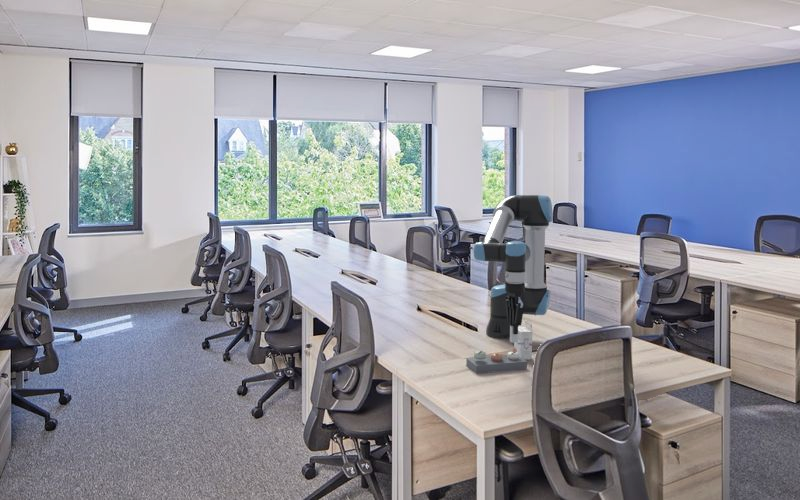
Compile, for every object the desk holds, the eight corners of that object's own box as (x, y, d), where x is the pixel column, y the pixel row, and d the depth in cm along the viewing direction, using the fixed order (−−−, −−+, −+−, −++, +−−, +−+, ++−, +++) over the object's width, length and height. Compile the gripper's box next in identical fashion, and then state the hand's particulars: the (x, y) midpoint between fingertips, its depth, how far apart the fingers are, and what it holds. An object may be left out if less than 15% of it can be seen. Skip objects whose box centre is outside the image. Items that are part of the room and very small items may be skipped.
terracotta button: (499, 357, 248) (499, 352, 248) (504, 360, 244) (504, 355, 243) (489, 358, 247) (489, 352, 247) (493, 361, 243) (493, 356, 242)
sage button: (482, 355, 246) (483, 350, 246) (487, 359, 242) (487, 353, 242) (472, 356, 245) (472, 351, 245) (476, 359, 241) (476, 354, 240)
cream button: (515, 356, 250) (516, 350, 250) (520, 359, 246) (521, 353, 245) (505, 357, 249) (505, 351, 248) (510, 360, 244) (510, 354, 244)
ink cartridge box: (513, 354, 263) (514, 319, 261) (524, 353, 264) (525, 319, 262) (520, 360, 255) (521, 324, 253) (532, 359, 256) (533, 324, 254)
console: (515, 361, 253) (515, 354, 253) (527, 368, 244) (527, 361, 243) (466, 365, 248) (466, 358, 247) (476, 373, 238) (476, 365, 238)
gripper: (499, 279, 249) (498, 337, 252) (513, 285, 236) (512, 347, 239) (516, 278, 251) (515, 336, 254) (531, 284, 238) (530, 345, 241)
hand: (513, 341), depth 247 cm, fingers closed
